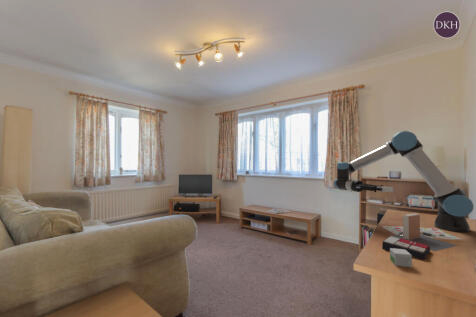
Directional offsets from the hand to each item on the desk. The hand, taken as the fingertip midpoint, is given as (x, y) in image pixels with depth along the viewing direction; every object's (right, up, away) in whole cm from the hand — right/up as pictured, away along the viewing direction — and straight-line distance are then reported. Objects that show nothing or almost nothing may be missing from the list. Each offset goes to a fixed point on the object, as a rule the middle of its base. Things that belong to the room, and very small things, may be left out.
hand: (390, 189), depth 123 cm
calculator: (-11, -24, -25) cm, 37 cm away
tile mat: (+5, -24, -14) cm, 28 cm away
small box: (-22, -24, -37) cm, 50 cm away
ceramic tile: (+4, -23, -10) cm, 26 cm away
